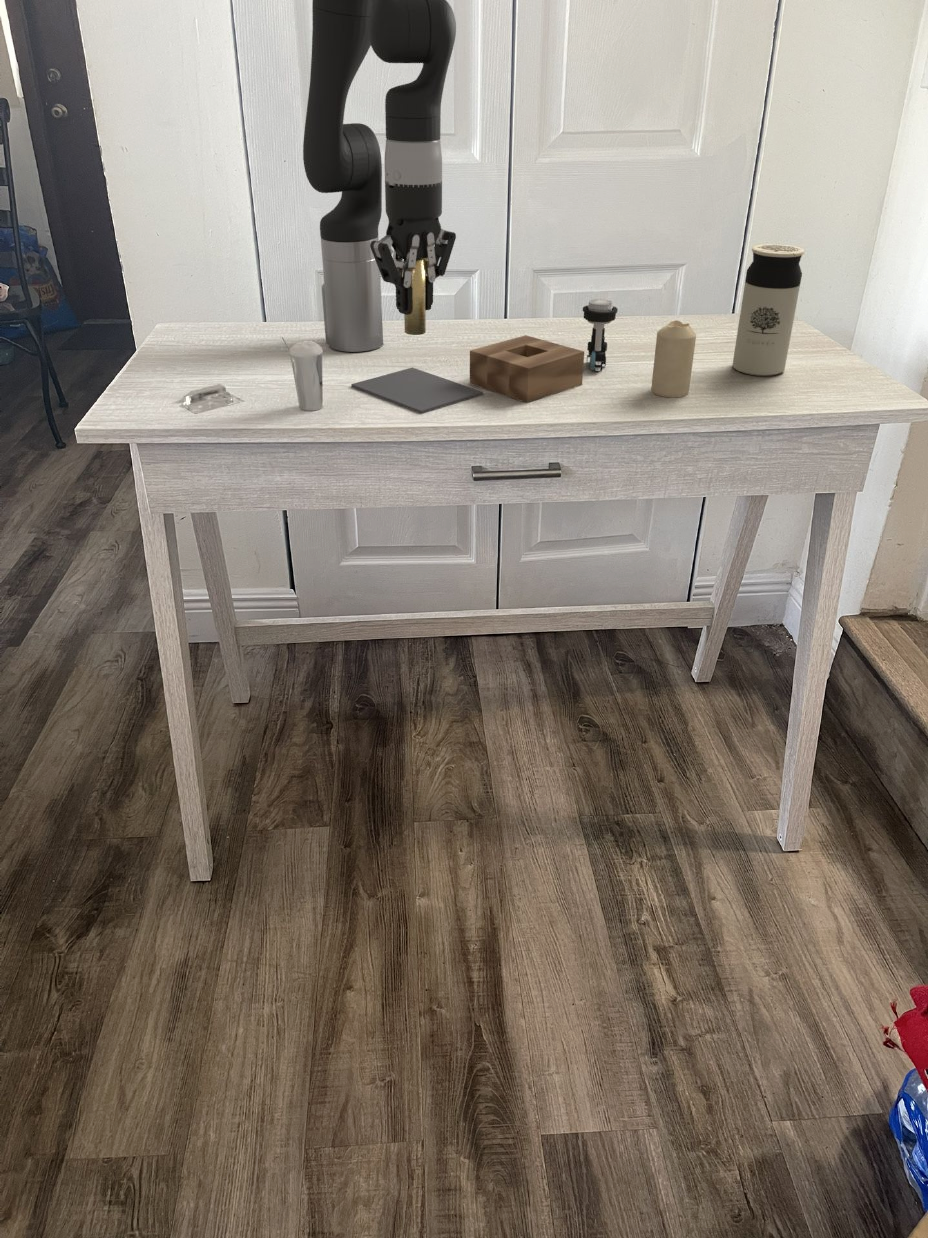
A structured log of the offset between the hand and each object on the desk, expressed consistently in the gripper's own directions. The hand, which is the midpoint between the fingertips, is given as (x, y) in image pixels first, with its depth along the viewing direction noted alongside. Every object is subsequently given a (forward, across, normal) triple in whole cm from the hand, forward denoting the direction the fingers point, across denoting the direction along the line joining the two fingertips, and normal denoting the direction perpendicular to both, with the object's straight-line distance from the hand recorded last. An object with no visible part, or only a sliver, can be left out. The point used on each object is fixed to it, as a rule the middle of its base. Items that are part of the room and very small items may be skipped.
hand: (414, 310), depth 133 cm
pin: (+3, 0, 0) cm, 3 cm away
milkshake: (+12, +16, -5) cm, 20 cm away
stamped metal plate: (+13, +25, -17) cm, 33 cm away
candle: (+11, -28, +25) cm, 39 cm away
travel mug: (+11, -47, +28) cm, 56 cm away
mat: (+12, 0, 0) cm, 12 cm away
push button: (+12, -29, +10) cm, 33 cm away
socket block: (+12, -15, +9) cm, 20 cm away
